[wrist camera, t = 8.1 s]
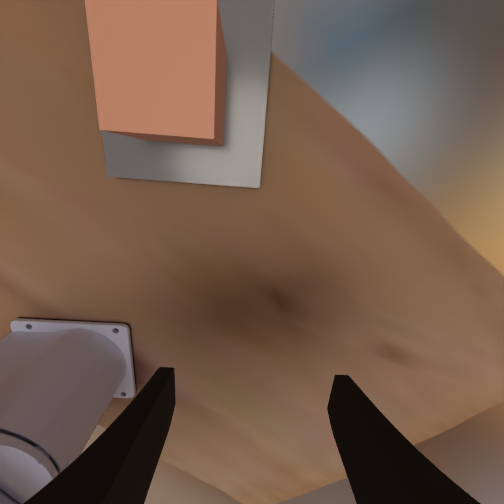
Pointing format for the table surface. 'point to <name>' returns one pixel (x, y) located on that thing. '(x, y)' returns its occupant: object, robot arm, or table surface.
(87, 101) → the table surface
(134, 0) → the clay cube
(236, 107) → the slate tile
